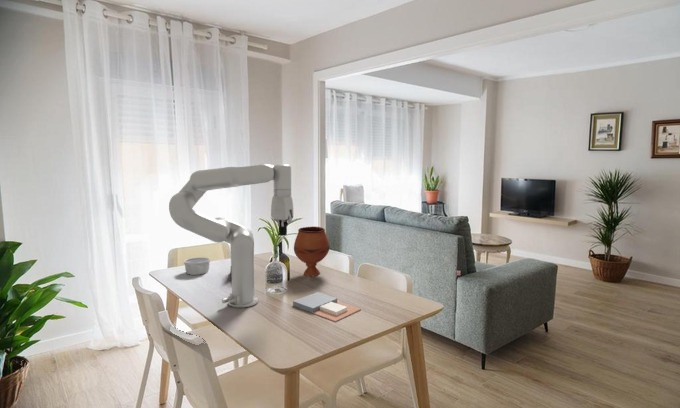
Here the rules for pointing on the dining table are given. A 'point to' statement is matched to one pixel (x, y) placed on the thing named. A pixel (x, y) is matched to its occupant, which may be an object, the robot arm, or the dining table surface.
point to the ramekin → (197, 265)
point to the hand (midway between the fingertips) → (282, 235)
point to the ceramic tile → (333, 308)
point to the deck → (313, 301)
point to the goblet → (311, 247)
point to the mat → (336, 318)
